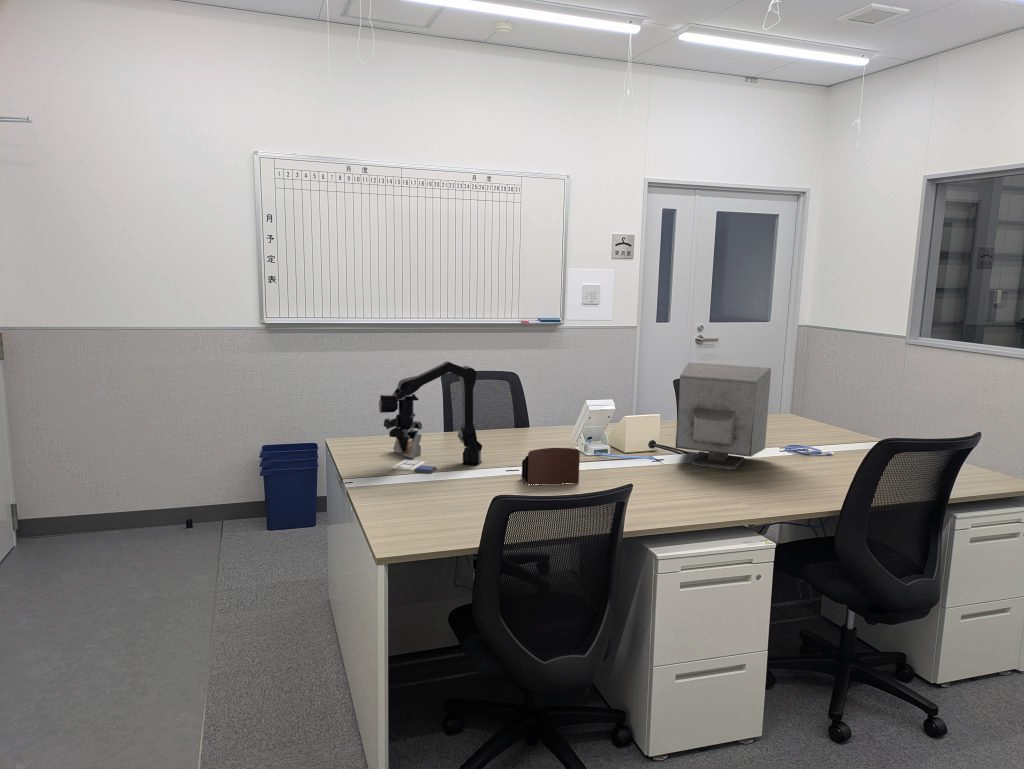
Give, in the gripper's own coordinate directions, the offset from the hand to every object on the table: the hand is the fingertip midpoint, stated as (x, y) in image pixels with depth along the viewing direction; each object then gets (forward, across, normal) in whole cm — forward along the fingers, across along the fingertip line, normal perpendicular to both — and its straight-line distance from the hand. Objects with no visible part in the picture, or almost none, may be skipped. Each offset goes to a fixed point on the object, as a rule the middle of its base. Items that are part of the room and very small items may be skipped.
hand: (406, 450), depth 291 cm
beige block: (+1, 0, 0) cm, 1 cm away
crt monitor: (+8, -53, +118) cm, 130 cm away
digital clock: (+7, -19, -8) cm, 22 cm away
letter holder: (+8, -1, +58) cm, 58 cm away
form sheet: (+7, -3, 0) cm, 8 cm away
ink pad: (+7, +2, +9) cm, 11 cm away
